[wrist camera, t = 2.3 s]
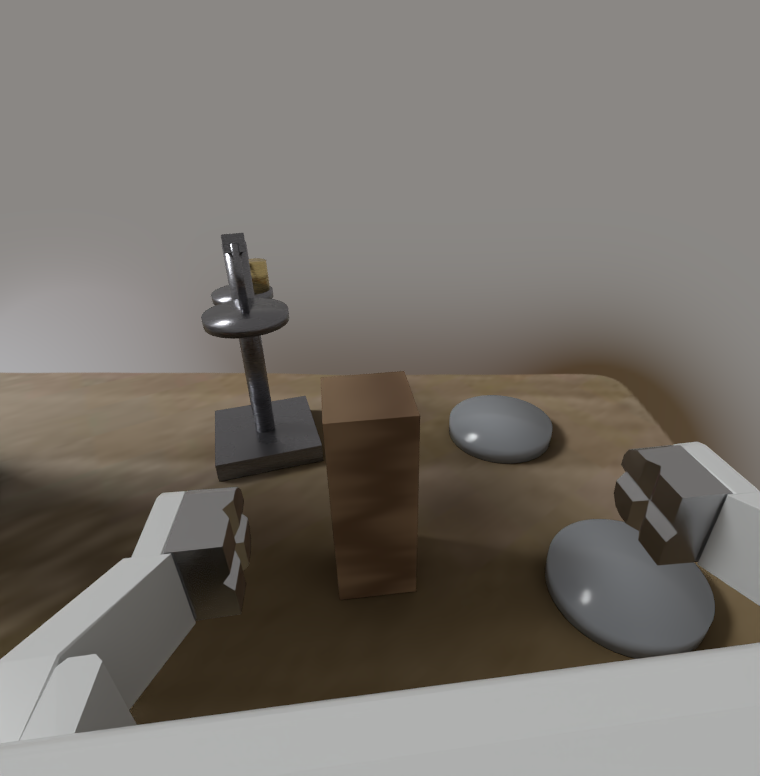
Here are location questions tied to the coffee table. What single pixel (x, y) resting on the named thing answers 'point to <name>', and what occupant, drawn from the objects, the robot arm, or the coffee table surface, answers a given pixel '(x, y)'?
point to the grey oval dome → (626, 591)
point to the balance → (255, 376)
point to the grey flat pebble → (500, 429)
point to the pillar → (372, 481)
